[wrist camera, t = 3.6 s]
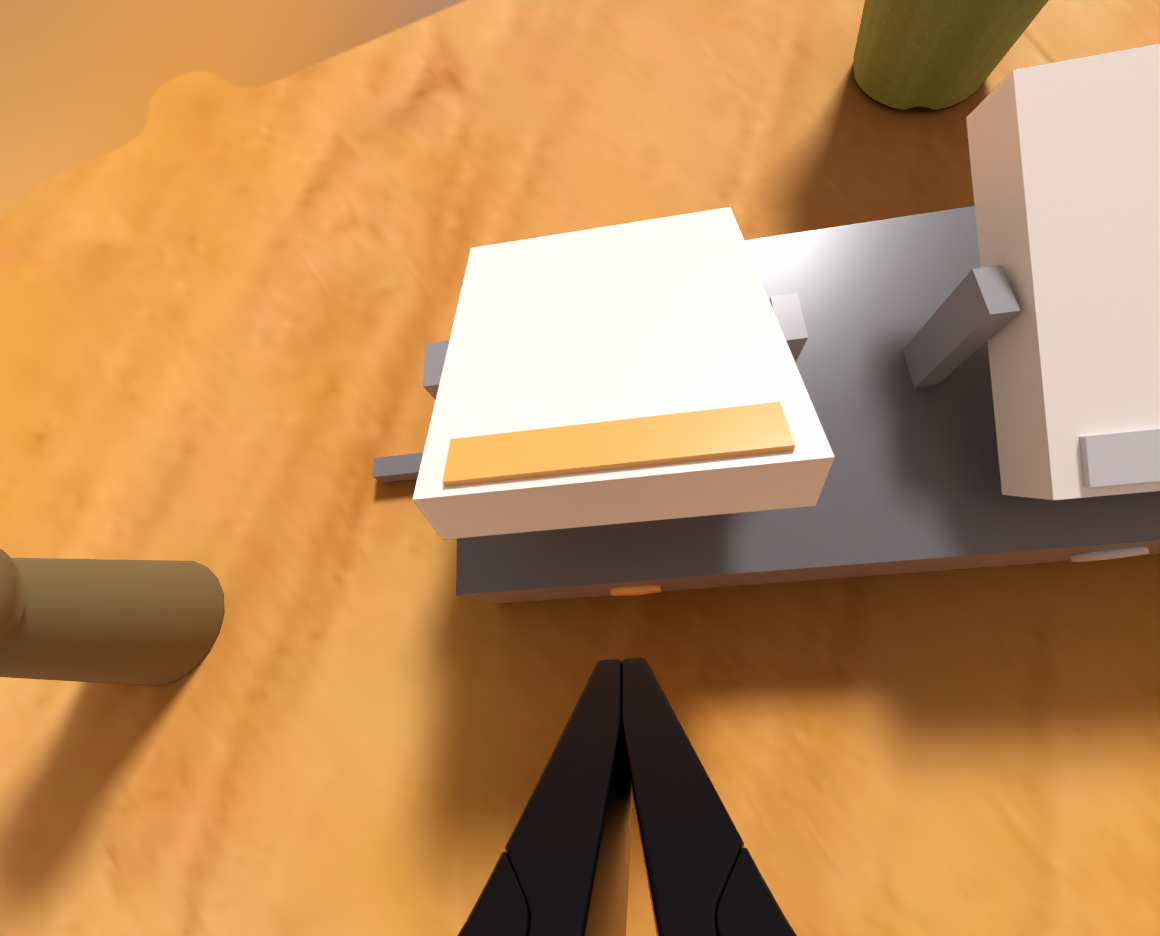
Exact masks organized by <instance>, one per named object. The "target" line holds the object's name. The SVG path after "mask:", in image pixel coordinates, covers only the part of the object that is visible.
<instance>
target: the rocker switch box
mask: <svg viewBox="0 0 1160 936" xmlns="http://www.w3.org/2000/svg"><path fill="white" fill-rule="evenodd" d="M744 241H745V243H746V246H747V248H748V250H749V253H750V255H751V258H752V260H753V262H754V265H755V267H756V270H757V272H758V274H759V277H760V279H761V282H762V284H763V286H764V289H765V291H766V294H767V296H768V298H769V301H770V303H771V306H772V308H773V310H774V313H775V315H776V318H777V320H778V322H779V325H780V327H781V330H782V332H783V334H784V337H785V339H786V342H787V344H788V346H789V349H790V351H791V354H792V356H793V358H794V361H795V363H796V366H797V368H798V370H799V373H800V375H801V378H802V380H803V382H804V385H805V387H806V390H807V392H808V394H809V397H810V399H811V402H812V404H813V406H814V409H815V411H816V414H817V416H818V418H819V421H820V423H821V426H822V428H823V430H824V433H825V435H826V438H827V440H828V442H829V445H830V447H831V450H832V452H833V454H834V460H833V462H832V465H831V467H830V470H829V473H828V475H827V478H826V480H825V483H824V486H823V488H822V491H821V493H820V496H819V499H818V501H817V504H816V506H807V507H796V508H785V509H774V510H763V511H752V512H741V513H730V514H719V515H708V516H697V517H686V518H675V519H664V520H653V521H642V522H631V523H620V524H609V525H598V526H587V527H576V528H565V529H554V530H543V531H532V532H521V533H510V534H499V535H488V536H477V537H466V538H457V581H456V595H458V596H462V597H467V598H471V599H476V600H480V601H485V602H490V603H494V604H503V603H516V602H530V601H543V600H556V599H570V598H583V597H596V596H610V595H613V596H630V595H643V594H652V593H658V592H663V591H676V590H690V589H703V588H716V587H730V586H743V585H756V584H770V583H783V582H796V581H810V580H823V579H836V578H850V577H863V576H876V575H890V574H903V573H916V572H930V571H943V570H956V569H970V568H983V567H996V566H1010V565H1023V564H1036V563H1050V562H1063V561H1072V562H1087V561H1098V560H1108V559H1117V558H1124V557H1132V556H1143V555H1156V554H1160V491H1153V492H1142V493H1130V494H1119V495H1107V496H1096V497H1085V498H1073V499H1062V500H1047V499H1037V498H1028V497H1019V496H1009V495H1002V488H1001V478H1000V467H999V457H998V446H997V436H996V425H995V415H994V404H993V394H992V383H991V373H990V362H989V352H988V342H987V340H988V339H989V338H991V337H992V336H993V335H994V334H995V333H996V332H997V331H998V330H999V329H1001V328H1002V327H1003V326H1004V325H1005V324H1006V323H1007V322H1008V321H1009V320H1011V319H1012V318H1013V317H1014V316H1015V315H1016V314H1017V313H1018V312H1019V311H1020V308H1019V306H1018V303H1017V301H1016V299H1015V296H1014V294H1013V291H1012V289H1011V286H1010V284H1009V282H1008V279H1007V277H1006V274H1005V272H1004V270H1003V267H1002V265H997V266H990V267H983V268H980V258H979V247H978V237H977V226H976V216H975V206H970V207H963V208H956V209H950V210H943V211H936V212H930V213H923V214H917V215H910V216H903V217H897V218H890V219H883V220H877V221H870V222H863V223H857V224H850V225H843V226H837V227H830V228H823V229H817V230H810V231H803V232H797V233H790V234H783V235H777V236H770V237H764V238H757V239H750V240H744ZM462 285H463V283H462ZM448 345H449V341H444V342H436V343H429V344H425V362H424V384H423V387H424V388H425V389H426V390H427V391H428V392H429V393H430V394H431V395H432V397H433V398H434V399H435V400H436V396H437V392H438V388H439V383H440V379H441V375H442V371H443V366H444V362H445V358H446V353H447V349H448ZM422 456H423V453H416V454H408V455H399V456H390V457H381V458H374V469H373V477H374V478H376V479H377V480H379V481H381V482H383V483H386V482H395V481H405V480H414V479H417V478H418V474H419V469H420V465H421V461H422Z"/></svg>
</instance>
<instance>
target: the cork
mask: <svg viewBox="0 0 1160 936" xmlns="http://www.w3.org/2000/svg"><path fill="white" fill-rule="evenodd" d="M223 616H224V594H223V591H222V588H221V586H220V583H219V580H218V578H217V577H216V576H215V575H214V574H213V573H212V572H211V571H210V569H209V568H208V567H206V566H203V565H201V564H199V563H196V562H194V561H152V560H96V559H40V558H10V557H9V556H8V555H7V554H6V553H5V552H4V551H3V550H1V549H0V677H11V678H29V679H46V680H64V681H81V682H98V683H116V684H133V685H152V686H161V685H164V684H167V683H170V682H174V681H177V680H179V679H180V678H182V677H183V676H185V675H186V674H188V673H189V672H190V671H192V670H193V669H195V668H196V667H197V665H198V664H199V663H200V662H201V661H202V660H203V659H204V657H205V656H206V655H207V654H208V653H209V652H210V650H211V648H212V646H213V644H214V642H215V640H216V638H217V636H218V634H219V632H220V628H221V624H222V620H223Z"/></svg>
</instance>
